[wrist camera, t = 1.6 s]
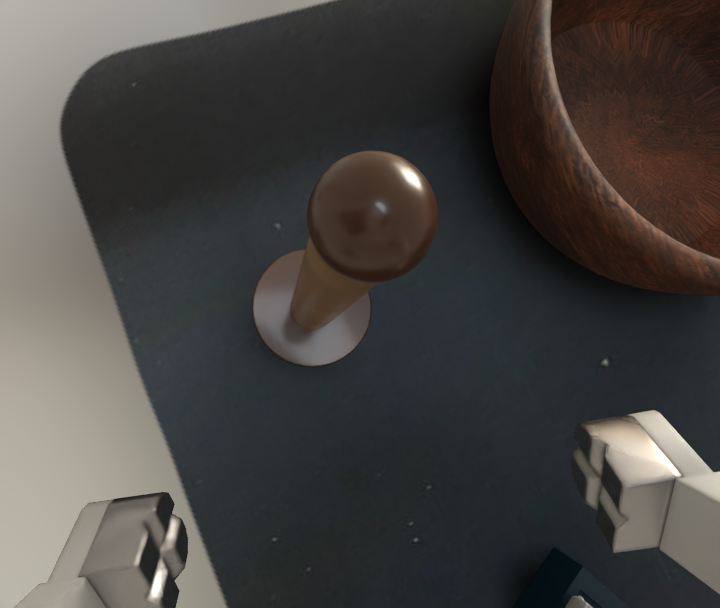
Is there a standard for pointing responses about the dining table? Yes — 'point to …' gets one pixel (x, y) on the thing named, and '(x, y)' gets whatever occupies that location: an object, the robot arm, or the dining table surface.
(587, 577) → the watch
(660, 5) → the wooden bowl
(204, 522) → the dining table surface
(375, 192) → the dish brush
